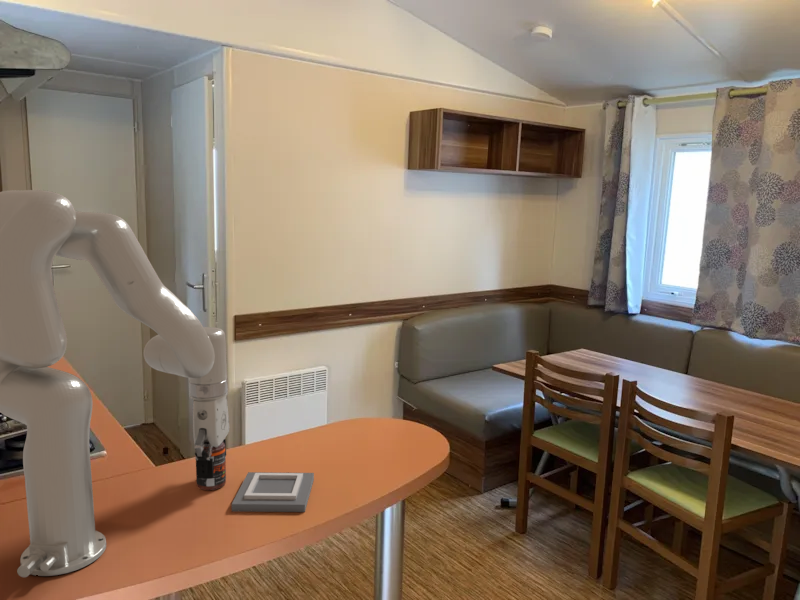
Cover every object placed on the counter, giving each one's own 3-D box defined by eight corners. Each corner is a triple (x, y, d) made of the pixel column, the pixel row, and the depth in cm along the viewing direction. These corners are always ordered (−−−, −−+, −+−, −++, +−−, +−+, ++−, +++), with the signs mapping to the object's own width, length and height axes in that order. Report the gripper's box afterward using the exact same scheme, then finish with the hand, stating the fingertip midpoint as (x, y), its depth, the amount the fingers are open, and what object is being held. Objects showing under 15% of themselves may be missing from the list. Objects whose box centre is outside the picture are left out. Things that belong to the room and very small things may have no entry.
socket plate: (304, 511, 119) (304, 500, 118) (231, 511, 119) (231, 500, 118) (313, 479, 133) (313, 469, 132) (248, 478, 132) (248, 468, 132)
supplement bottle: (217, 493, 126) (216, 440, 124) (191, 490, 127) (188, 437, 125) (231, 480, 132) (229, 429, 130) (205, 477, 133) (203, 427, 131)
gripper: (215, 402, 118) (218, 486, 121) (237, 375, 135) (240, 450, 138) (175, 402, 118) (180, 486, 120) (202, 375, 135) (206, 449, 137)
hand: (212, 466), depth 129 cm, fingers open, 9 cm apart
